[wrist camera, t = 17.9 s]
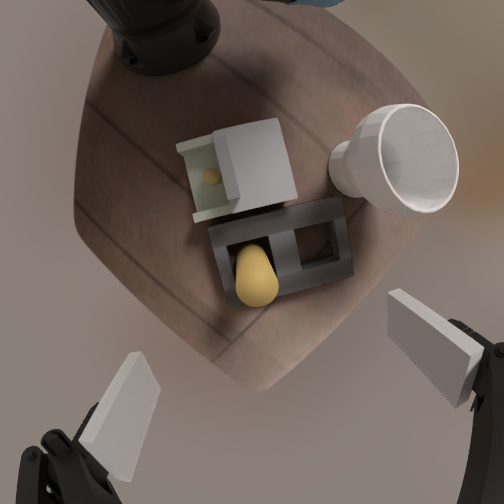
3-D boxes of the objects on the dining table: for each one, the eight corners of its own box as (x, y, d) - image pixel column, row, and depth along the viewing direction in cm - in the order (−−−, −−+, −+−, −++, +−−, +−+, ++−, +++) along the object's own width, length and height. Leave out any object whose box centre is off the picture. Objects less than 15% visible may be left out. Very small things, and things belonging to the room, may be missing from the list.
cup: (342, 223, 34) (405, 243, 19) (302, 151, 32) (346, 121, 17) (399, 186, 33) (474, 188, 19) (364, 119, 31) (429, 85, 17)
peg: (240, 272, 35) (241, 311, 23) (233, 245, 34) (231, 272, 22) (268, 266, 35) (282, 301, 23) (261, 238, 34) (273, 261, 22)
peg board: (210, 225, 33) (207, 227, 30) (332, 196, 33) (341, 196, 30) (230, 299, 35) (229, 308, 32) (345, 269, 35) (353, 275, 32)
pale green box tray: (183, 150, 31) (175, 144, 27) (269, 129, 31) (274, 120, 27) (200, 219, 33) (194, 222, 29) (286, 198, 33) (293, 198, 29)
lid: (213, 133, 27) (209, 124, 23) (276, 119, 27) (281, 108, 23) (232, 213, 29) (231, 215, 25) (296, 198, 29) (304, 198, 25)
